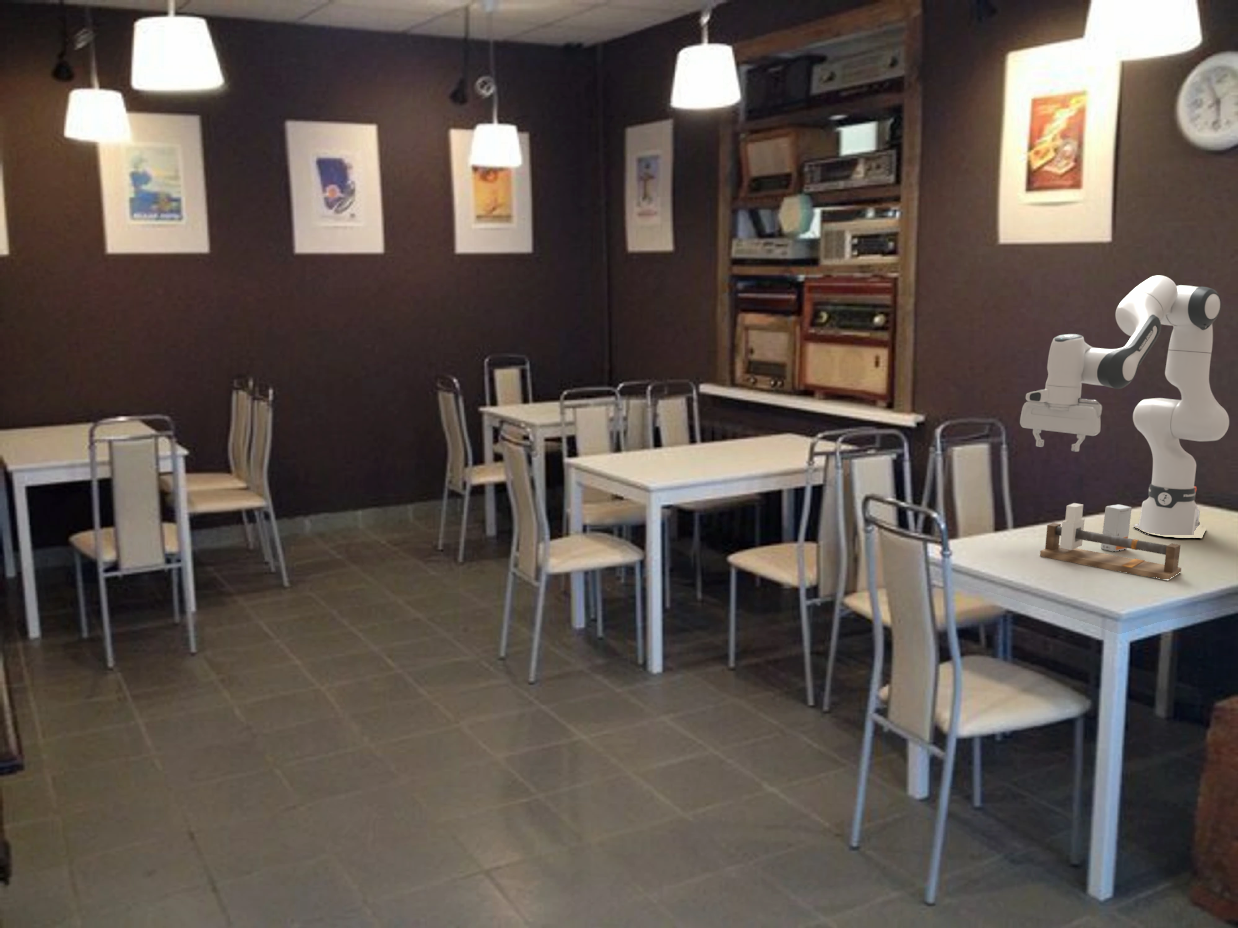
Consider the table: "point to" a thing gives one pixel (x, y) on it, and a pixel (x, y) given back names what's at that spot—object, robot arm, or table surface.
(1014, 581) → the table surface
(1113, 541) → the pipe stand
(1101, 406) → the robot arm
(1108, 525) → the skincare box
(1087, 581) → the table surface
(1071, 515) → the collar
